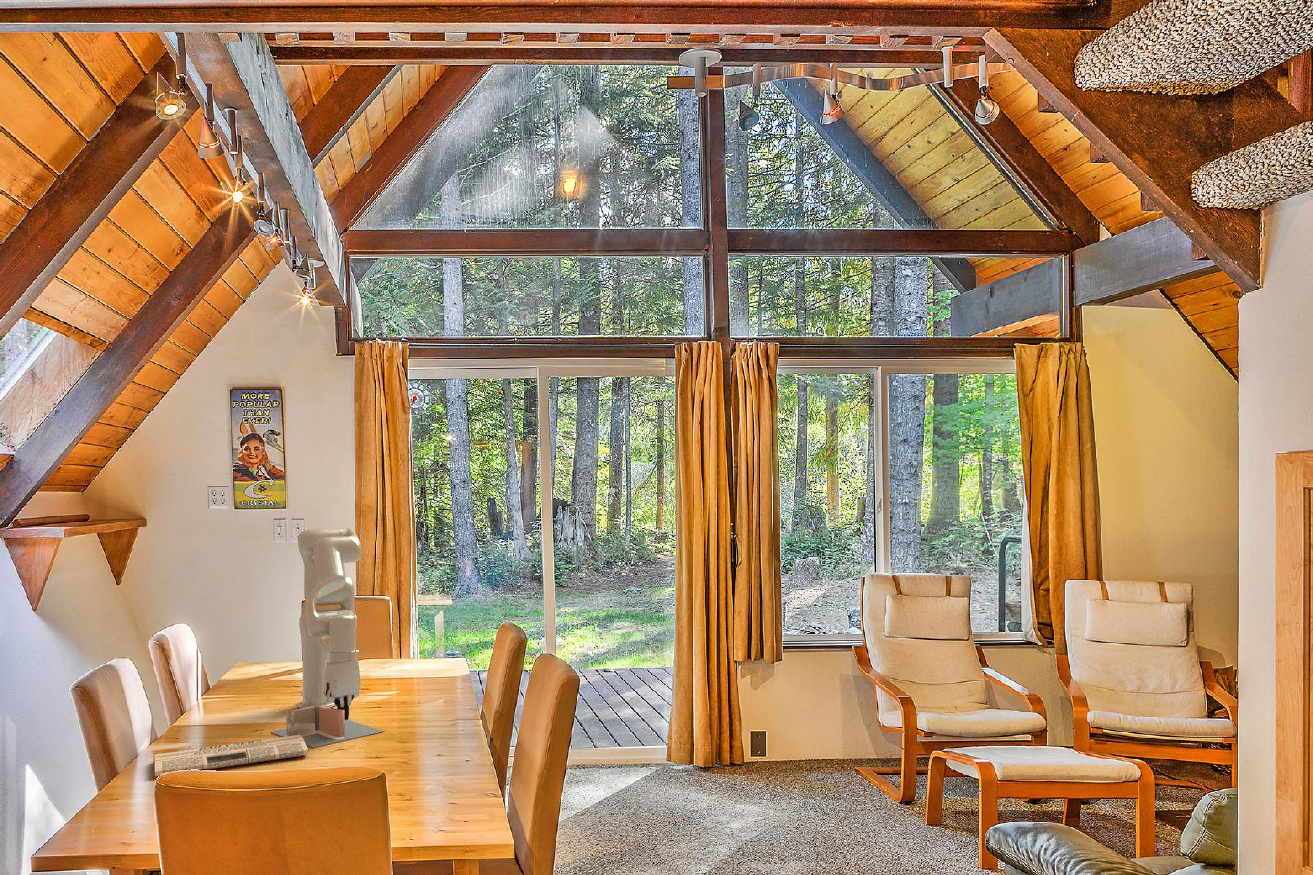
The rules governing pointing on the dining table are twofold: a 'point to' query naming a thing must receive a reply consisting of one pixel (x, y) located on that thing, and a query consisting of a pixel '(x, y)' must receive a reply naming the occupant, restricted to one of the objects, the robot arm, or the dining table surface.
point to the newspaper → (231, 754)
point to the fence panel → (329, 720)
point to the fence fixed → (300, 721)
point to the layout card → (322, 738)
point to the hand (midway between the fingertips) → (343, 719)
